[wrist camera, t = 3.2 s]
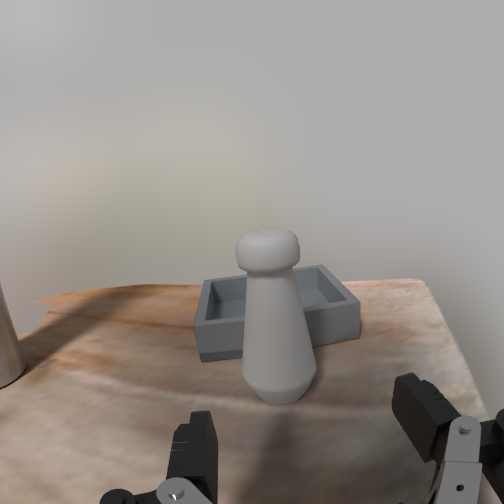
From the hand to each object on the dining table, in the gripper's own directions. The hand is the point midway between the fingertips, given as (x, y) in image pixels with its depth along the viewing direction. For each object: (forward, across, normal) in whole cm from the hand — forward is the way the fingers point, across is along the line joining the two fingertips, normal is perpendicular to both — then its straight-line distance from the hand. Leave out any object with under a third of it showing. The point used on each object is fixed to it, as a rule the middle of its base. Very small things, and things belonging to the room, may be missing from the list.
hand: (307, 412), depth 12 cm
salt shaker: (+11, 0, +8) cm, 13 cm away
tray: (+24, -1, +7) cm, 25 cm away
